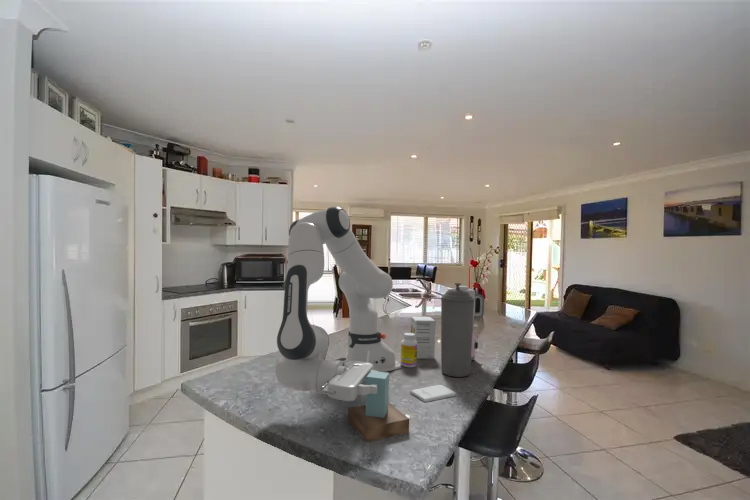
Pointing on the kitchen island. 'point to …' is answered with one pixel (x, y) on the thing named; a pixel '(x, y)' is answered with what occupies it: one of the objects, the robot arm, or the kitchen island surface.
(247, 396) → the kitchen island surface
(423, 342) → the supplement box
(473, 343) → the blender
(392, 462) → the kitchen island surface
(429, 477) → the kitchen island surface
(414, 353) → the supplement bottle
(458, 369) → the canister
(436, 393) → the external hard drive
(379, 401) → the teal block
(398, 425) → the walnut block
